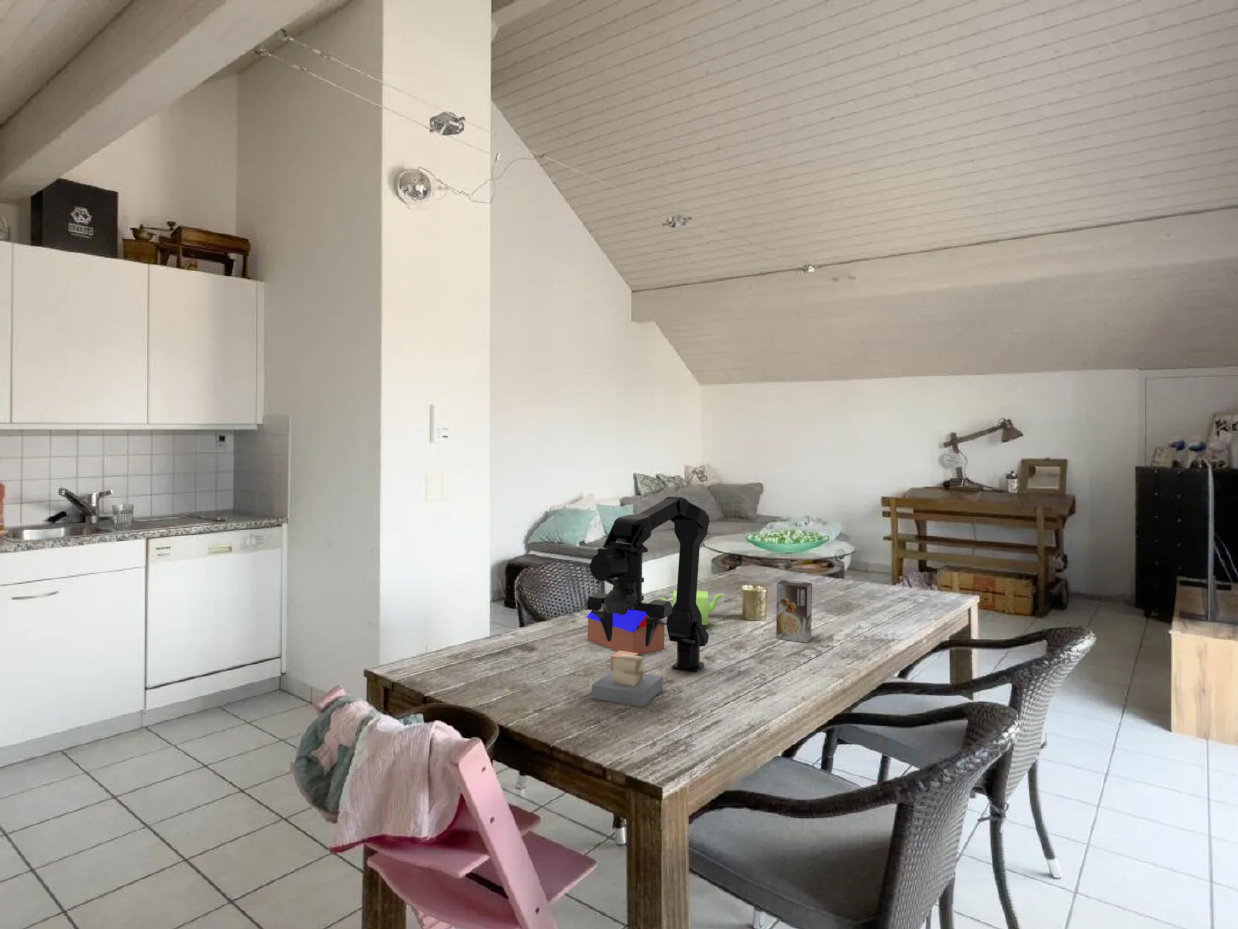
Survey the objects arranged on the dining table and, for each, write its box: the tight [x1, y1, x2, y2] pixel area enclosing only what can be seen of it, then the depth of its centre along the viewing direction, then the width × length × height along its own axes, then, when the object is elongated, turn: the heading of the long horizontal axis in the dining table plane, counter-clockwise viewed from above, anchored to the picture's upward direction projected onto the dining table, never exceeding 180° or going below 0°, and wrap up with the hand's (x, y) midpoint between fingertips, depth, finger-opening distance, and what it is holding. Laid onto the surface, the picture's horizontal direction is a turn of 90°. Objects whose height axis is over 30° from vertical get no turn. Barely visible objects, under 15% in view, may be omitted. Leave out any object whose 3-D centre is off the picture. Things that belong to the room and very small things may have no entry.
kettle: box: [660, 589, 725, 626], centre depth 221 cm, size 15×14×11 cm
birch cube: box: [613, 654, 644, 686], centre depth 162 cm, size 5×5×5 cm
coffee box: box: [775, 579, 813, 644], centre depth 208 cm, size 9×6×16 cm
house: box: [586, 610, 666, 656], centre depth 200 cm, size 12×20×12 cm, turn 40°
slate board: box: [591, 671, 664, 708], centre depth 162 cm, size 12×12×3 cm
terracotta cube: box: [609, 651, 639, 673], centre depth 175 cm, size 5×5×5 cm
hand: (628, 643), depth 161 cm, fingers open, 9 cm apart
